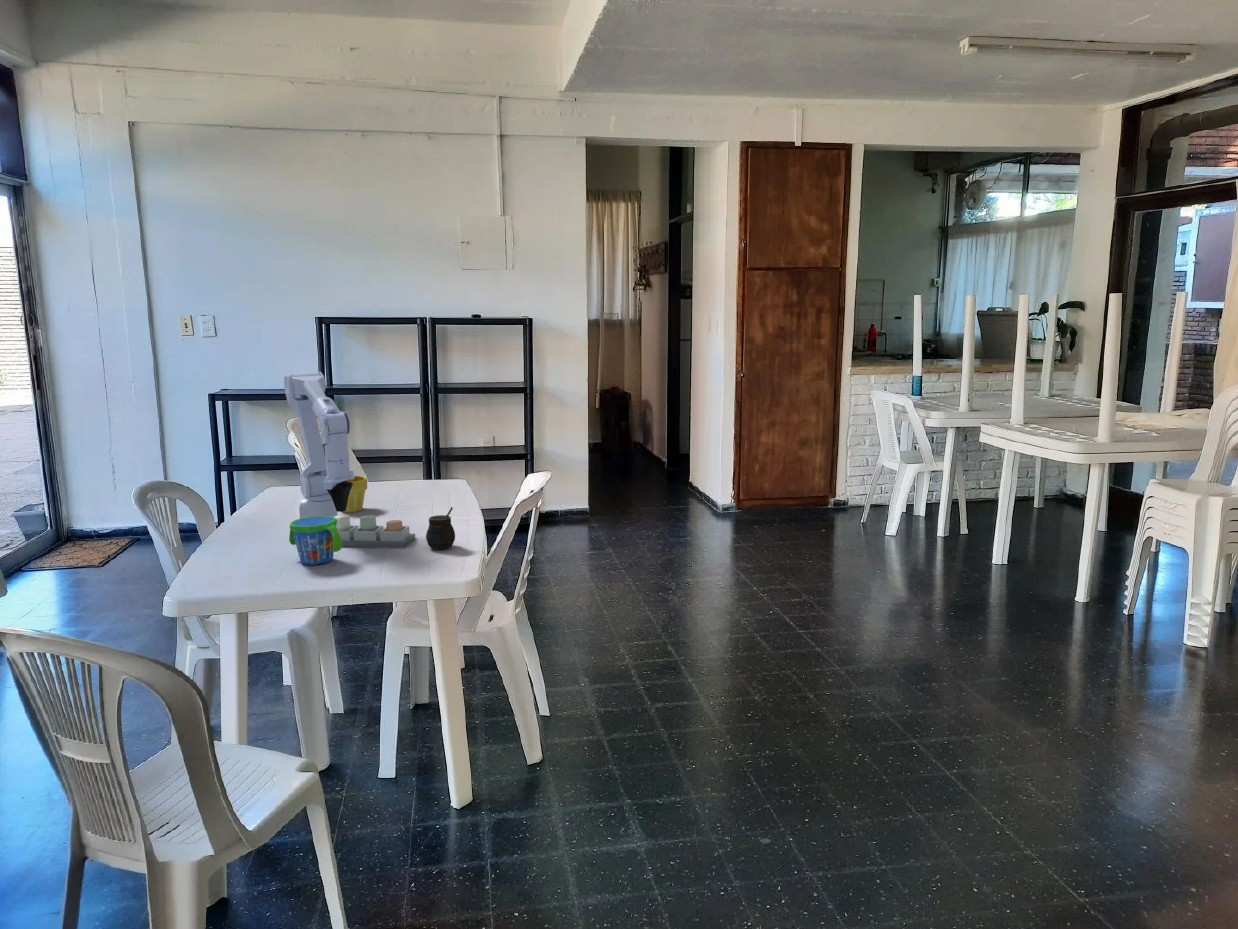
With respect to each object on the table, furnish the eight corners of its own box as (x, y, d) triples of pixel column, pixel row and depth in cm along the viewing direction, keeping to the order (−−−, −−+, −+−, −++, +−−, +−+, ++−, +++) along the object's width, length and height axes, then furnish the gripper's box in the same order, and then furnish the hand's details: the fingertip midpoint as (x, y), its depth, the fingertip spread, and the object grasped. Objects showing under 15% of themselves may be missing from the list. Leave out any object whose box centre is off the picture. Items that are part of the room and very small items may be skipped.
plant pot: (362, 514, 249) (360, 482, 247) (328, 514, 249) (325, 482, 247) (373, 506, 259) (371, 475, 257) (340, 506, 259) (338, 475, 257)
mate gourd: (420, 549, 211) (418, 510, 209) (442, 542, 217) (440, 505, 216) (440, 553, 207) (438, 514, 205) (462, 546, 213) (460, 508, 212)
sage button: (358, 533, 216) (357, 518, 215) (364, 529, 220) (363, 515, 219) (373, 534, 215) (372, 519, 215) (379, 530, 219) (378, 515, 218)
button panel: (322, 546, 214) (321, 532, 214) (336, 537, 223) (335, 523, 223) (403, 547, 213) (402, 533, 212) (415, 538, 221) (414, 524, 221)
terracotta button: (384, 538, 215) (383, 523, 214) (390, 534, 219) (389, 520, 218) (400, 539, 215) (399, 524, 214) (405, 535, 219) (404, 520, 218)
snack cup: (278, 561, 202) (274, 521, 200) (316, 551, 211) (312, 512, 209) (317, 572, 193) (314, 530, 191) (355, 561, 202) (352, 520, 200)
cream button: (332, 533, 216) (331, 518, 216) (338, 529, 220) (337, 514, 219) (347, 533, 216) (346, 518, 215) (353, 529, 220) (352, 515, 219)
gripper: (340, 464, 207) (344, 517, 210) (363, 454, 221) (366, 504, 224) (313, 464, 208) (317, 517, 210) (337, 454, 222) (341, 504, 224)
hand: (341, 511), depth 217 cm, fingers closed
